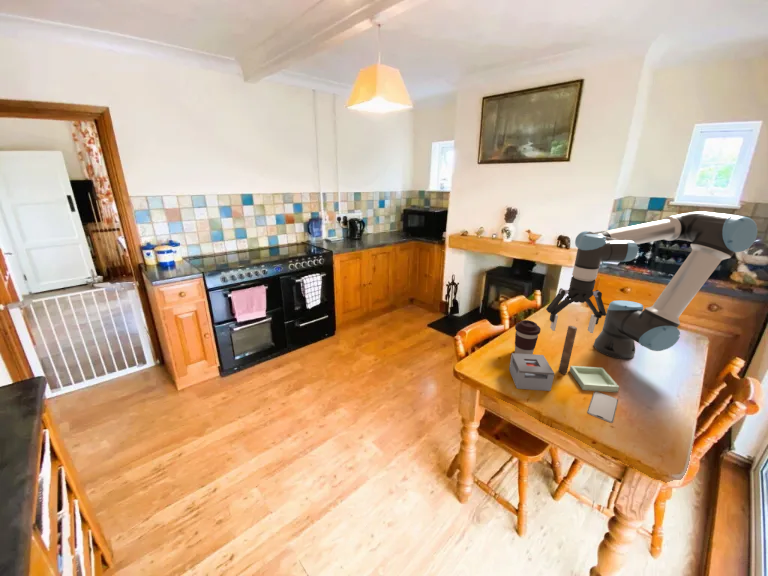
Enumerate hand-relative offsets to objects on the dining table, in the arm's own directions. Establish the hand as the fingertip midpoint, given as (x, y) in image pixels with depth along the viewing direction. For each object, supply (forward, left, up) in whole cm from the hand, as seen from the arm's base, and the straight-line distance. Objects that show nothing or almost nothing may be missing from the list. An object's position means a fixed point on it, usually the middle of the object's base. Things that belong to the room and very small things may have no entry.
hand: (571, 330), depth 123 cm
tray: (-9, +5, -19) cm, 22 cm away
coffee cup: (+12, -12, -19) cm, 25 cm away
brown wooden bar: (0, 0, -19) cm, 19 cm away
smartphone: (-6, +19, -19) cm, 28 cm away
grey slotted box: (+15, +7, -19) cm, 25 cm away
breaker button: (+15, +7, -17) cm, 23 cm away
